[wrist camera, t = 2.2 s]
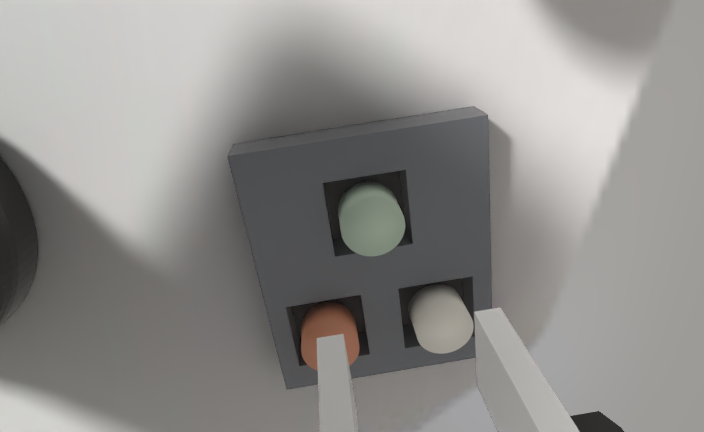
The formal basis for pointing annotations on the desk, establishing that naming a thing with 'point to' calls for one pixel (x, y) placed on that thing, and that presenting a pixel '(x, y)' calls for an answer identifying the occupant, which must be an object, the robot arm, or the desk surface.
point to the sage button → (370, 219)
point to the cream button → (440, 319)
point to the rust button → (328, 330)
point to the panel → (354, 269)
